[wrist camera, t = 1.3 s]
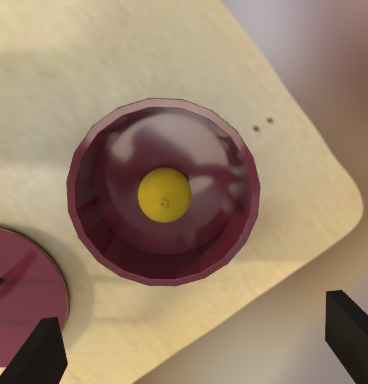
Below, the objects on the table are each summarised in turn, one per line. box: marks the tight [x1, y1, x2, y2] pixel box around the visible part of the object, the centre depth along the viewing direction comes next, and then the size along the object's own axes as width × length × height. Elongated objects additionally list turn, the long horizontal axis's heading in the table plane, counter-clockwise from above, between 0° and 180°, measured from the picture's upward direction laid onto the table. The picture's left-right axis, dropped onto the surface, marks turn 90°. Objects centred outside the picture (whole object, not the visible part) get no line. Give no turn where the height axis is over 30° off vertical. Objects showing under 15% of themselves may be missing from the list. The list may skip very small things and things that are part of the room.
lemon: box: [138, 168, 192, 223], centre depth 29 cm, size 6×6×8 cm
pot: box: [66, 98, 260, 286], centre depth 30 cm, size 19×19×6 cm
